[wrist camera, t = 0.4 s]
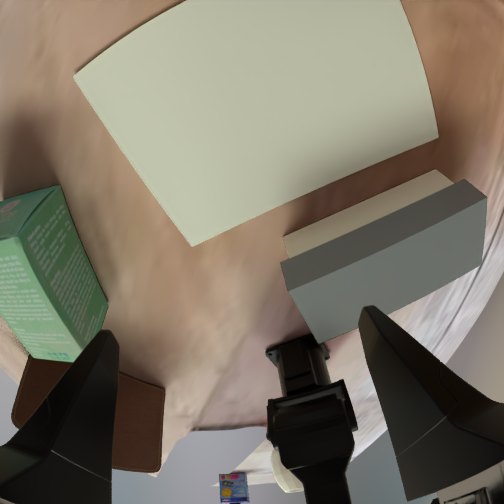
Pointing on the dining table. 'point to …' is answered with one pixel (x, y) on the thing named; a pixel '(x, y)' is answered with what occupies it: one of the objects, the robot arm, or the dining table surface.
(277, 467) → the cream rounded pot
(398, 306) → the grey rectangular block
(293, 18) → the pale cream mat
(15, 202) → the box
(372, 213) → the base
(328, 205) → the dining table surface
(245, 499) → the ink cartridge box
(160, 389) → the letter holder
